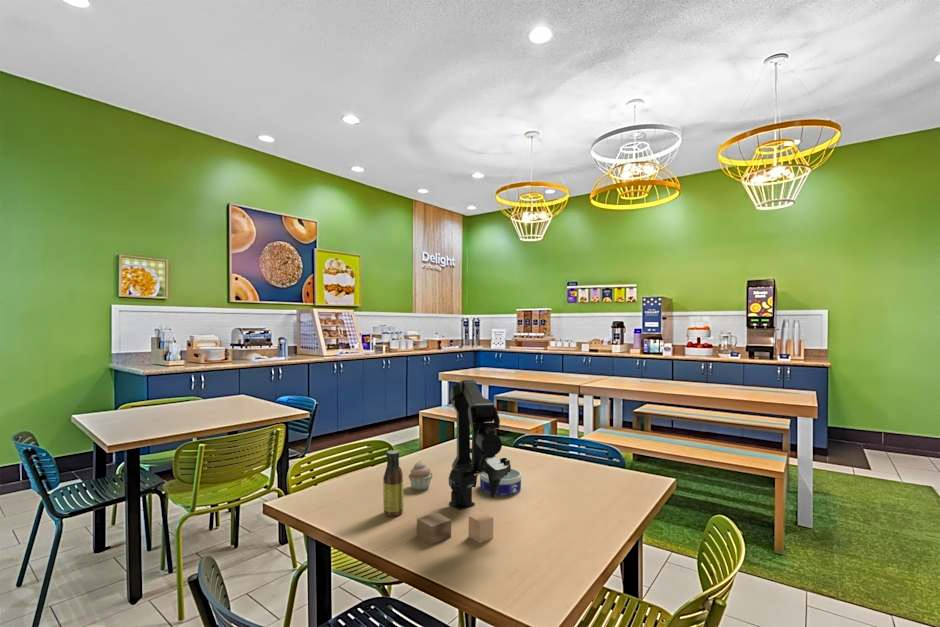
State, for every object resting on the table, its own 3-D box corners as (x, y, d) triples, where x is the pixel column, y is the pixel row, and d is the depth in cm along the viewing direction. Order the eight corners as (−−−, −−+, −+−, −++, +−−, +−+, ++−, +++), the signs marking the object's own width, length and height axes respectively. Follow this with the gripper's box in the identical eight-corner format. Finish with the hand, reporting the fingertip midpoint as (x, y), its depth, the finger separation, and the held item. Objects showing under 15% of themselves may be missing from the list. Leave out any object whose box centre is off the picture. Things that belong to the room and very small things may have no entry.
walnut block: (436, 529, 137) (436, 512, 137) (451, 537, 132) (451, 520, 132) (416, 536, 132) (417, 518, 132) (431, 545, 127) (431, 526, 127)
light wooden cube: (481, 532, 135) (481, 511, 135) (493, 538, 131) (493, 517, 131) (468, 537, 132) (468, 515, 132) (479, 543, 128) (480, 521, 128)
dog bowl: (506, 500, 161) (506, 482, 161) (471, 490, 170) (471, 473, 170) (528, 488, 173) (528, 471, 173) (494, 479, 182) (495, 464, 182)
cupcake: (434, 484, 175) (435, 457, 175) (430, 493, 166) (430, 465, 166) (410, 483, 176) (411, 456, 176) (405, 491, 167) (405, 464, 167)
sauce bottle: (394, 508, 152) (395, 447, 152) (407, 513, 148) (408, 450, 148) (378, 514, 147) (379, 451, 147) (391, 519, 143) (392, 455, 143)
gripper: (475, 458, 120) (474, 518, 120) (524, 446, 132) (524, 501, 132) (449, 449, 129) (448, 505, 128) (497, 439, 141) (497, 490, 140)
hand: (481, 500), depth 132 cm, fingers open, 9 cm apart
